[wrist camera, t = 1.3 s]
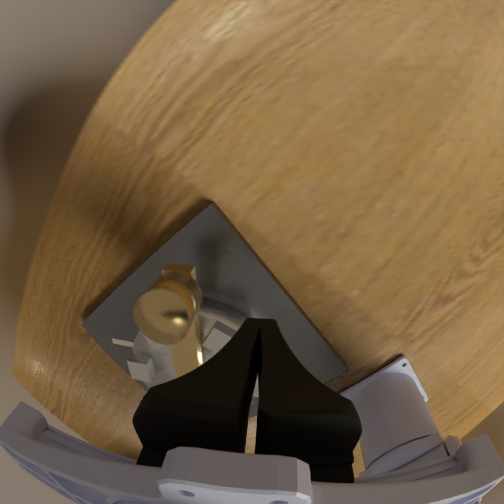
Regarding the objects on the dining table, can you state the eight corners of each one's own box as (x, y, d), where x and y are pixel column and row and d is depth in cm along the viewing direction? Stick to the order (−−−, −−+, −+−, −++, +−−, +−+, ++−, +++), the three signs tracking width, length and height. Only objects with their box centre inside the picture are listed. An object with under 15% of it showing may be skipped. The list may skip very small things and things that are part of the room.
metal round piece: (264, 402, 24) (259, 466, 17) (154, 388, 25) (128, 442, 18) (274, 251, 19) (273, 302, 12) (128, 245, 20) (70, 282, 13)
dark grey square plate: (345, 363, 23) (348, 370, 22) (204, 428, 28) (202, 435, 27) (214, 201, 20) (210, 203, 19) (86, 319, 24) (80, 324, 23)
